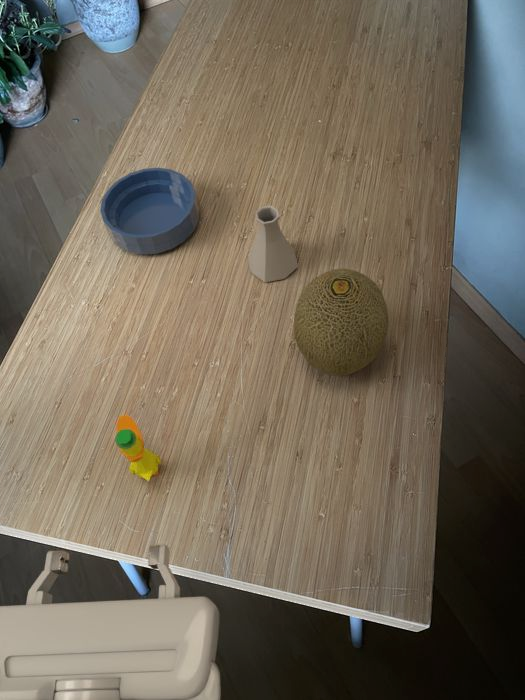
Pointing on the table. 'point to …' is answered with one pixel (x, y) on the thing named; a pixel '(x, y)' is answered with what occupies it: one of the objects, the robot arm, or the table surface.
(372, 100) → the table surface
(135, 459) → the toy figure
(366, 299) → the fruit
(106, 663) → the robot arm
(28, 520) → the table surface
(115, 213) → the bowl
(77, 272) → the table surface
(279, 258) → the flask
